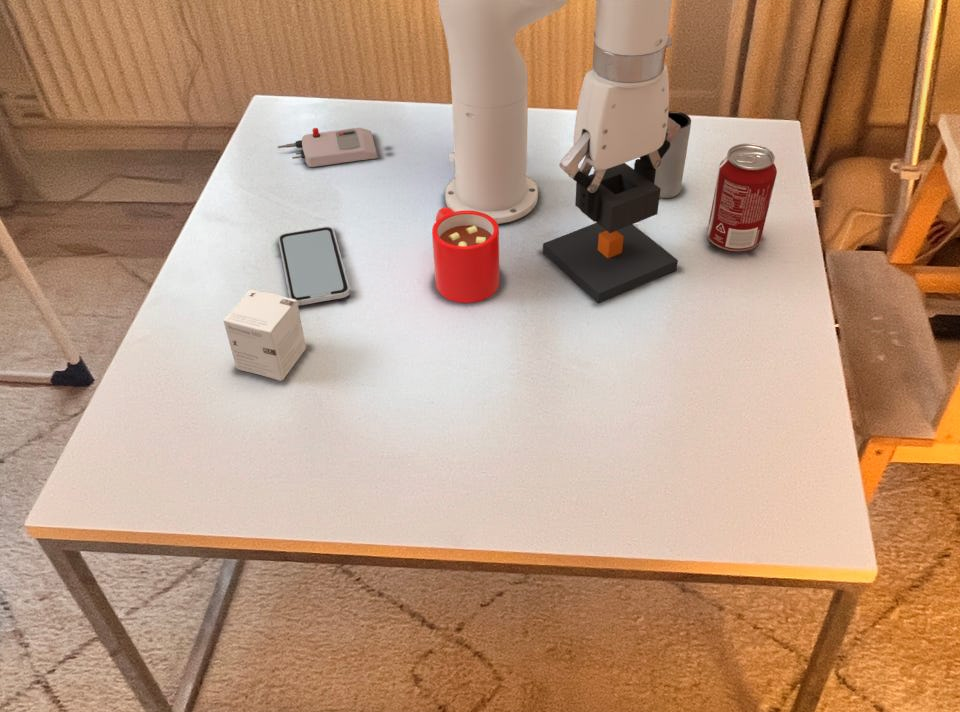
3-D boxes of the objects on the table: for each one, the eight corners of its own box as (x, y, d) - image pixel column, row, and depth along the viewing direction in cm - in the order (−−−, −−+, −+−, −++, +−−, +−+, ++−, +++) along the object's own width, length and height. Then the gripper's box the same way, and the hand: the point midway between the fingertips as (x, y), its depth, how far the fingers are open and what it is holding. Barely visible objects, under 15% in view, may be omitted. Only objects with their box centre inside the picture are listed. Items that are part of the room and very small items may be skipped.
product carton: (235, 370, 105) (220, 320, 99) (262, 336, 108) (249, 286, 103) (283, 382, 103) (270, 332, 98) (308, 348, 107) (297, 297, 101)
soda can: (759, 258, 116) (780, 173, 107) (705, 252, 117) (721, 168, 108) (759, 227, 121) (779, 143, 112) (707, 222, 122) (722, 138, 113)
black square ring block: (575, 205, 112) (576, 179, 109) (621, 187, 114) (624, 162, 111) (609, 233, 107) (612, 207, 105) (657, 214, 110) (661, 188, 107)
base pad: (542, 253, 118) (543, 226, 115) (618, 223, 122) (621, 196, 119) (598, 303, 111) (600, 276, 108) (676, 270, 115) (681, 243, 112)
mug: (465, 239, 120) (463, 186, 114) (511, 290, 113) (511, 235, 107) (411, 258, 118) (405, 204, 112) (454, 310, 111) (450, 256, 105)
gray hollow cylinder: (687, 191, 127) (698, 121, 119) (662, 202, 125) (672, 132, 117) (665, 176, 129) (674, 107, 121) (640, 187, 127) (648, 117, 120)
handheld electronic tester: (390, 157, 134) (388, 138, 132) (281, 172, 132) (278, 153, 130) (383, 134, 139) (381, 115, 137) (278, 148, 137) (274, 129, 135)
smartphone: (333, 225, 122) (351, 292, 112) (334, 231, 123) (352, 298, 112) (276, 234, 121) (290, 302, 111) (278, 240, 121) (291, 309, 111)
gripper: (671, 24, 102) (654, 169, 115) (539, 66, 96) (537, 213, 110) (716, 49, 98) (693, 197, 111) (581, 94, 92) (574, 244, 105)
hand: (616, 204), depth 110 cm, fingers closed on black square ring block, 7 cm apart
